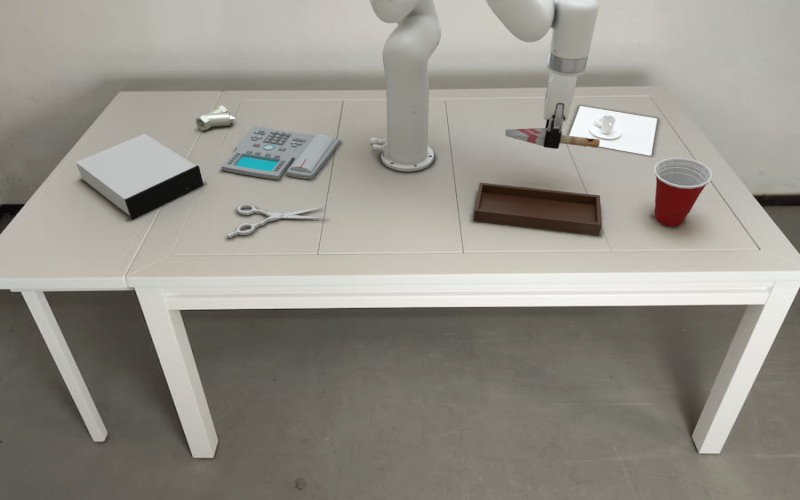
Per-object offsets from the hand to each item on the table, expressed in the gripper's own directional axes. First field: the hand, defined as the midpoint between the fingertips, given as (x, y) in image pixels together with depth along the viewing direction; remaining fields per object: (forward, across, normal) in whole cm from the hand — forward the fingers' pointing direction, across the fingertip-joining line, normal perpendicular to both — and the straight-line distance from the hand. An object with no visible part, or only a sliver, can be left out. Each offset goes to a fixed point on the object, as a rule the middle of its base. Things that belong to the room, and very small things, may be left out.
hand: (551, 141), depth 138 cm
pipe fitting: (+13, -10, -83) cm, 85 cm away
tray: (+10, +12, -1) cm, 16 cm away
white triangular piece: (+10, -28, +17) cm, 34 cm away
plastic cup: (+10, +9, +26) cm, 29 cm away
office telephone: (+12, +1, -62) cm, 63 cm away
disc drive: (+13, +18, -89) cm, 92 cm away
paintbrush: (+1, 0, 0) cm, 1 cm away
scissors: (+12, +25, -54) cm, 61 cm away
